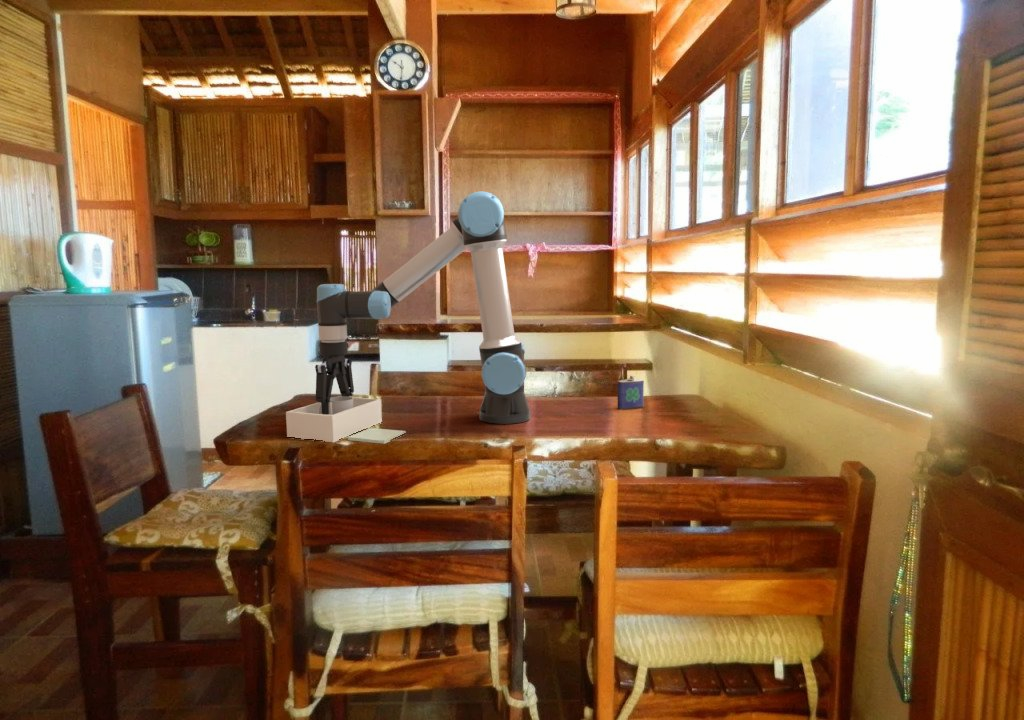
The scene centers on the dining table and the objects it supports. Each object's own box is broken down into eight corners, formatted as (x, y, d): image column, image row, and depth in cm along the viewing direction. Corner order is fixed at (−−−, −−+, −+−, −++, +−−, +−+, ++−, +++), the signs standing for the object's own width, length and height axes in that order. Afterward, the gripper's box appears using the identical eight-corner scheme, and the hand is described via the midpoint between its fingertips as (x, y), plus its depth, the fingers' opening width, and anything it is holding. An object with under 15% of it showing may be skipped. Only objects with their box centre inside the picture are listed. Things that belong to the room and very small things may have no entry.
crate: (381, 422, 199) (381, 399, 198) (333, 442, 177) (332, 415, 176) (339, 419, 204) (338, 396, 203) (287, 437, 182) (285, 412, 181)
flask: (640, 406, 220) (641, 373, 219) (645, 408, 218) (646, 374, 216) (615, 408, 217) (616, 375, 215) (620, 410, 214) (620, 376, 213)
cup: (347, 433, 186) (346, 401, 184) (313, 432, 188) (312, 400, 186) (358, 427, 193) (357, 396, 191) (325, 426, 195) (324, 395, 193)
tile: (405, 433, 185) (405, 431, 185) (384, 443, 175) (384, 440, 175) (370, 430, 189) (370, 427, 189) (348, 440, 179) (347, 437, 179)
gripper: (342, 336, 197) (346, 413, 201) (298, 344, 179) (302, 429, 182) (365, 337, 195) (368, 415, 198) (322, 345, 176) (325, 431, 179)
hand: (336, 422), depth 190 cm, fingers closed on cup, 7 cm apart
